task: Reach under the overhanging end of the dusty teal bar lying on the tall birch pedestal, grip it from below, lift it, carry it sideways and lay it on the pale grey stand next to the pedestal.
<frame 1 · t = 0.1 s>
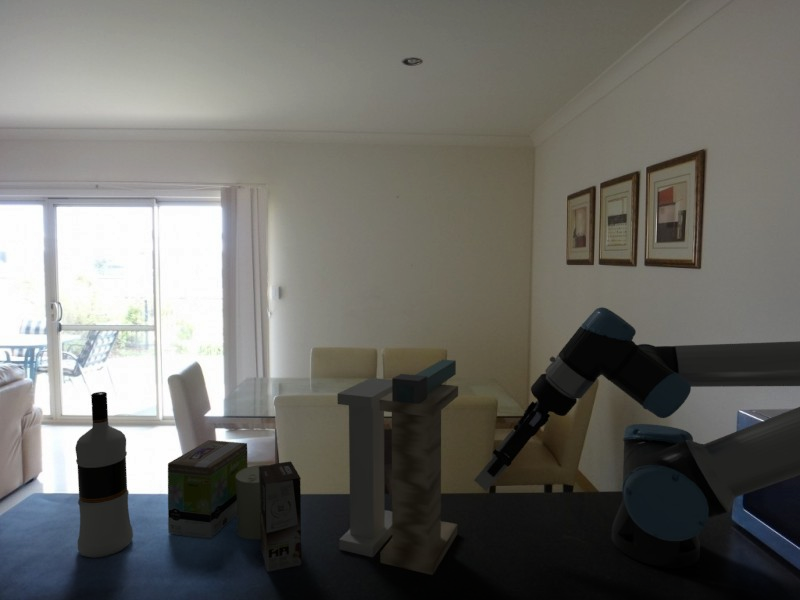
hand: (489, 470, 99), 15 cm above the table, tool tilted 35°, fingers open, 13 cm apart
tea box: (210, 520, 112), on the table
teal bar: (429, 386, 103), point 30 cm above the table, touching pedestal
coffee box: (280, 557, 98), on the table
can: (260, 529, 108), on the table
stand: (372, 535, 105), on the table
vodka: (106, 547, 101), on the table
pedestal: (420, 547, 101), on the table
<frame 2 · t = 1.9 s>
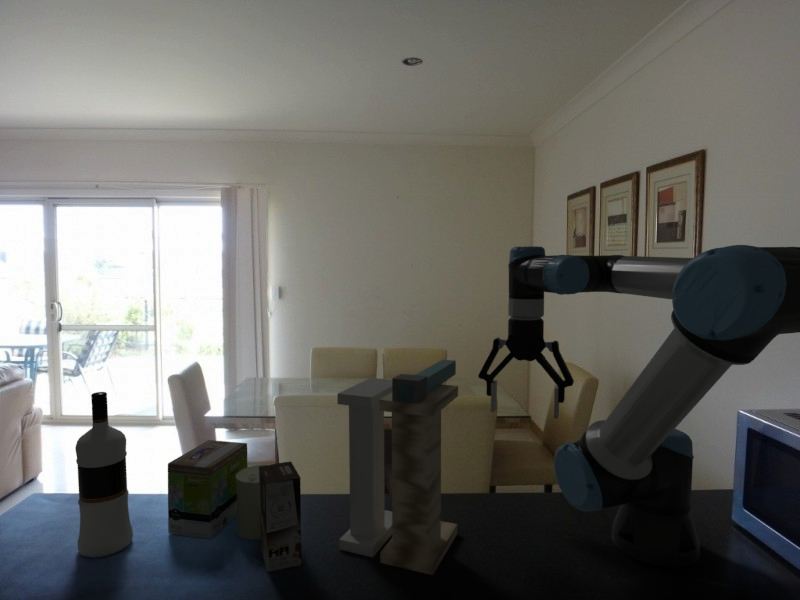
hand: (524, 413, 116), 21 cm above the table, tool pointing down, fingers open, 13 cm apart
nothing on the table moved.
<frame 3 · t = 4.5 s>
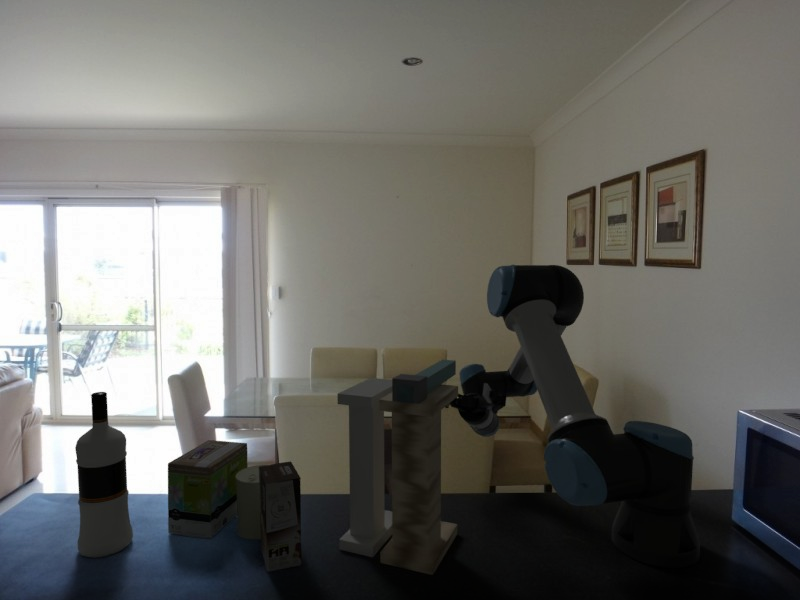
hand: (455, 386, 119), 26 cm above the table, tool pointing upward, fingers open, 13 cm apart
nothing on the table moved.
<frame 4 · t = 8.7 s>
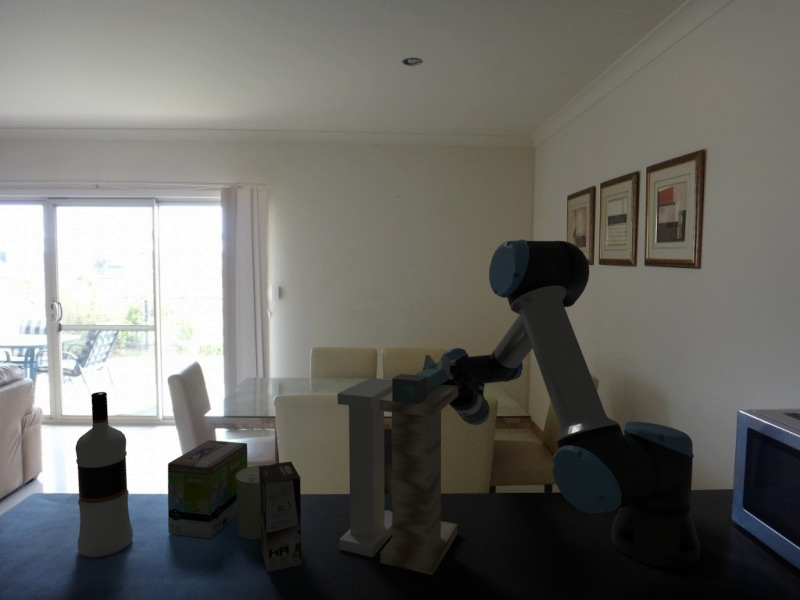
hand: (435, 362, 106), 34 cm above the table, tool pointing upward, fingers closed on teal bar, 3 cm apart
teal bar: (429, 386, 103), point 30 cm above the table, touching gripper, pedestal
everything else where it was.
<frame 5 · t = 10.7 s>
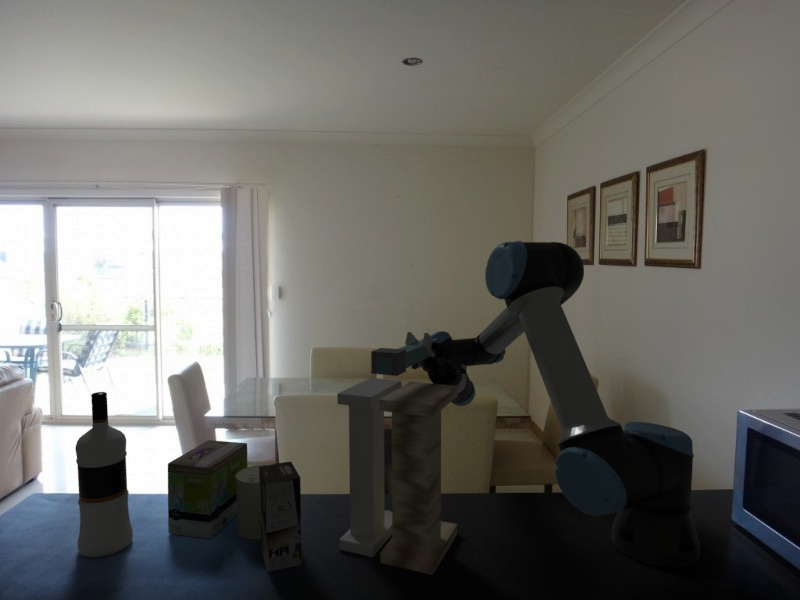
hand: (416, 338, 107), 39 cm above the table, tool pointing upward, fingers closed on teal bar, 3 cm apart
teal bar: (410, 362, 105), point 34 cm above the table, touching gripper
everything else where it was.
when the fingers open (35 cm above the table, at t = 12.9 s): teal bar drops 1 cm, resting on stand.
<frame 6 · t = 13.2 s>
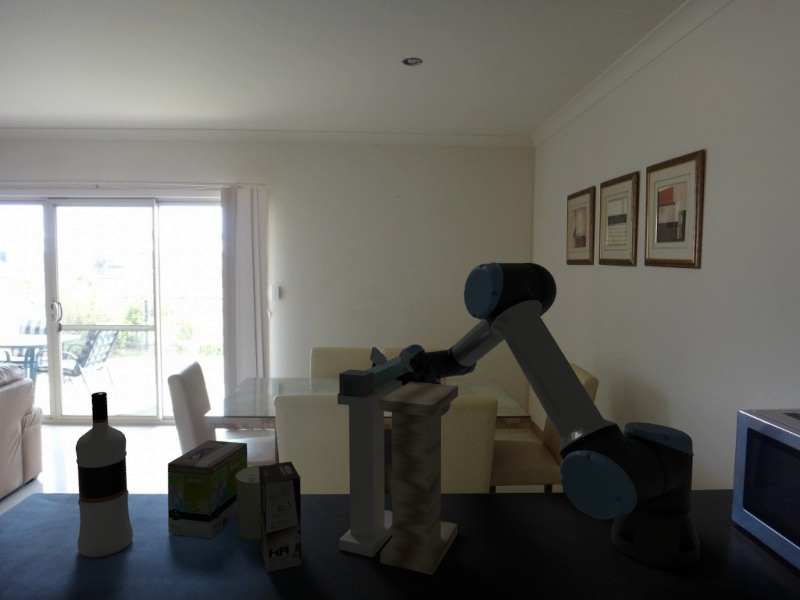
hand: (387, 354, 110), 35 cm above the table, tool pointing upward, fingers open, 6 cm apart
teal bar: (380, 381, 107), point 30 cm above the table, touching stand
everything else where it was.
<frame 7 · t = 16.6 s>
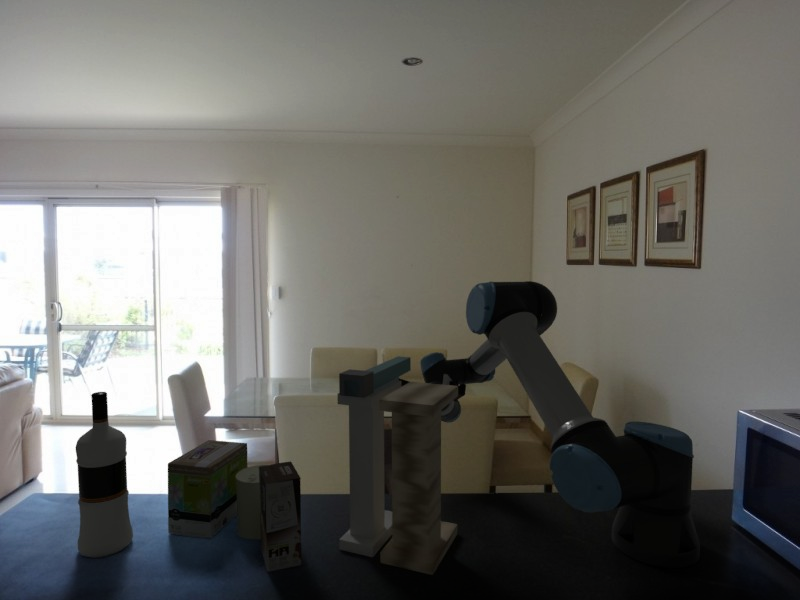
hand: (416, 377, 122), 28 cm above the table, tool pointing upward, fingers open, 13 cm apart
nothing on the table moved.
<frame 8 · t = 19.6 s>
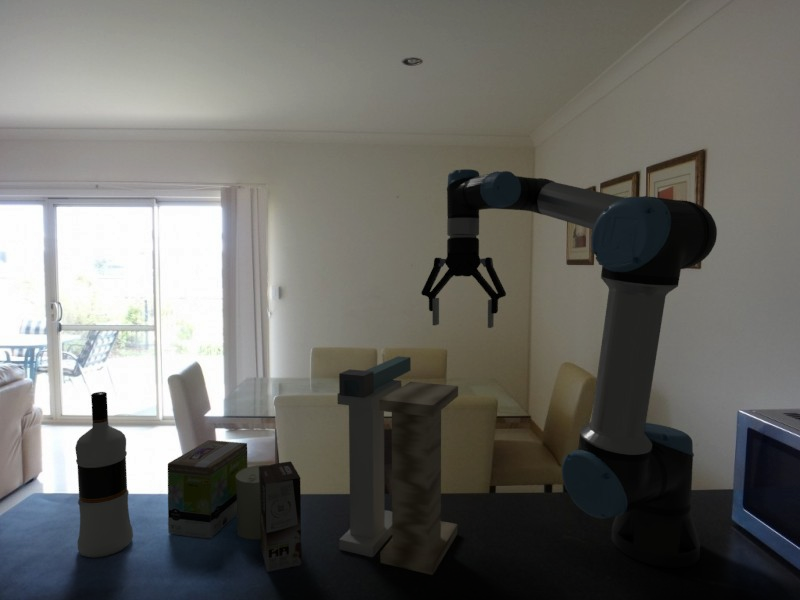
hand: (462, 326, 127), 39 cm above the table, tool pointing down, fingers open, 13 cm apart
nothing on the table moved.
at the end: teal bar inside the target area on the stand (0.1 cm from its centre), point 30.0 cm above the stand's base; teal bar touching stand; the gripper is holding nothing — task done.
